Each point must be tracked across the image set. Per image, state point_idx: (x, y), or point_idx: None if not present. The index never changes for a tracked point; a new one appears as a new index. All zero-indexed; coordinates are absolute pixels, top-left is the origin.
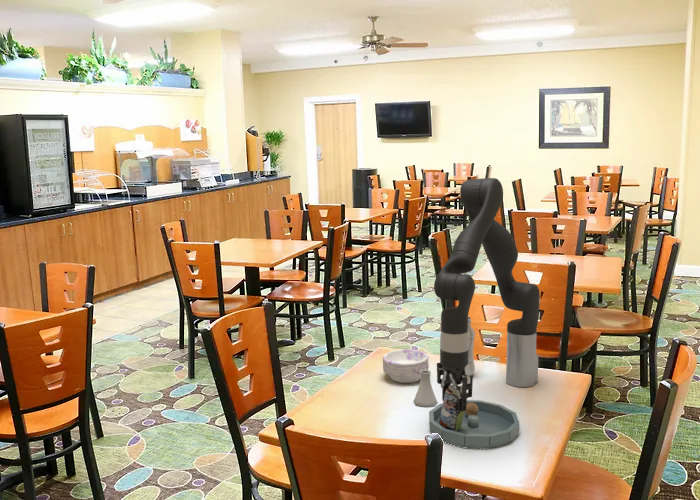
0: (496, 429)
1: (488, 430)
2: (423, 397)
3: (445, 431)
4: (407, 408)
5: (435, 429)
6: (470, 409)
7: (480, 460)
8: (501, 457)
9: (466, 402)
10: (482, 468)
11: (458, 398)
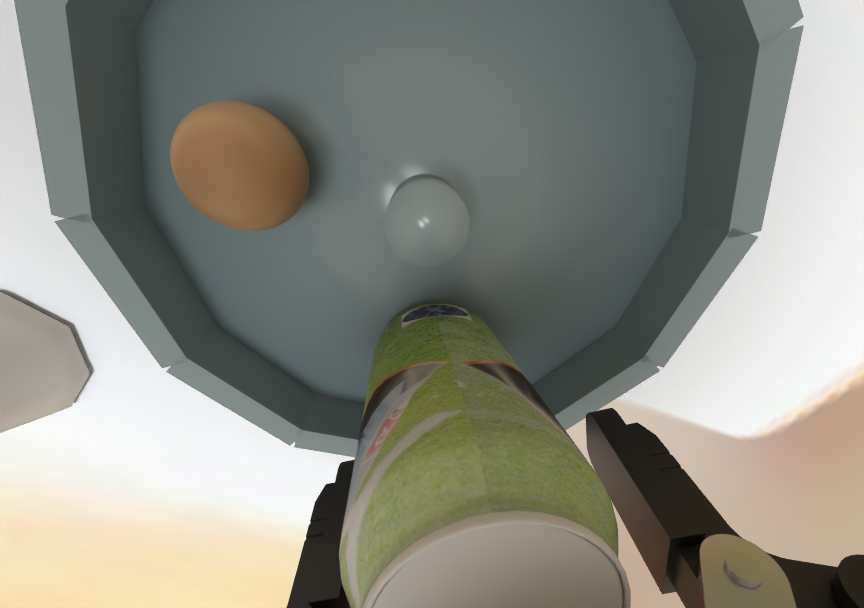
0: (531, 62)
1: (526, 136)
2: (18, 407)
3: None
4: (120, 439)
5: None
6: (292, 201)
7: (752, 301)
8: (800, 189)
9: (695, 485)
10: (812, 318)
11: (674, 589)
